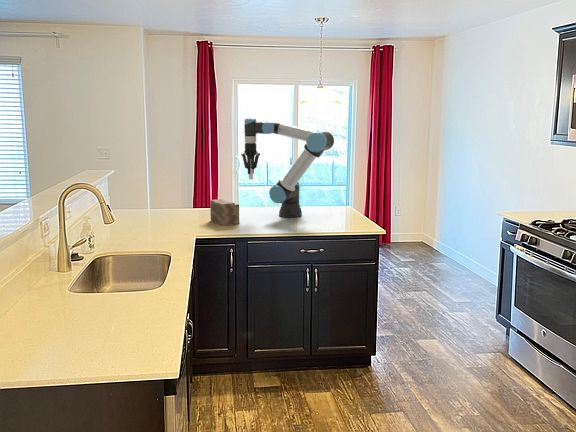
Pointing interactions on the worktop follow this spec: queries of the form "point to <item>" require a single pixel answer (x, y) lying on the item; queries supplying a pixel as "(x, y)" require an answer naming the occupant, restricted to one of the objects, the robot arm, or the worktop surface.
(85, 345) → the worktop surface
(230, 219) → the brown patterned block
